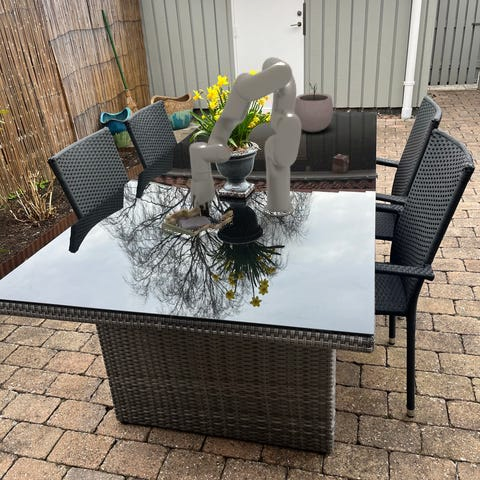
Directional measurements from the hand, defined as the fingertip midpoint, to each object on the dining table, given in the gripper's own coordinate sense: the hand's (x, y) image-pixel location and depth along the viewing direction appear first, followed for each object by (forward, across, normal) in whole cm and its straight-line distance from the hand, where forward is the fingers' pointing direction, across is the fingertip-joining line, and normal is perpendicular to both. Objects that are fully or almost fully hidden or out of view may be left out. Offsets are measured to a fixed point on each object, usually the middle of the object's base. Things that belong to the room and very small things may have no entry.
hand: (205, 217), depth 194 cm
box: (+2, -78, +20) cm, 80 cm away
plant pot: (+2, -131, -26) cm, 134 cm away
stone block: (+2, +8, +1) cm, 8 cm away
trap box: (+1, +4, 0) cm, 4 cm away
